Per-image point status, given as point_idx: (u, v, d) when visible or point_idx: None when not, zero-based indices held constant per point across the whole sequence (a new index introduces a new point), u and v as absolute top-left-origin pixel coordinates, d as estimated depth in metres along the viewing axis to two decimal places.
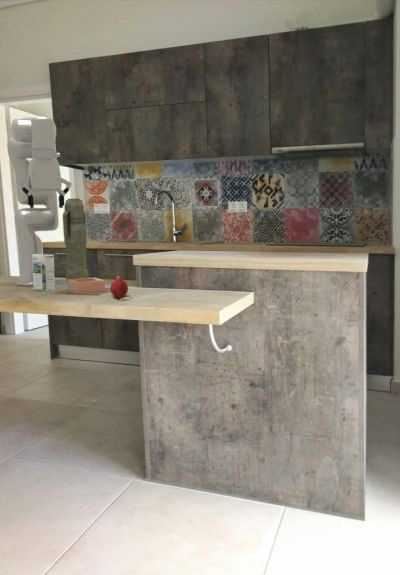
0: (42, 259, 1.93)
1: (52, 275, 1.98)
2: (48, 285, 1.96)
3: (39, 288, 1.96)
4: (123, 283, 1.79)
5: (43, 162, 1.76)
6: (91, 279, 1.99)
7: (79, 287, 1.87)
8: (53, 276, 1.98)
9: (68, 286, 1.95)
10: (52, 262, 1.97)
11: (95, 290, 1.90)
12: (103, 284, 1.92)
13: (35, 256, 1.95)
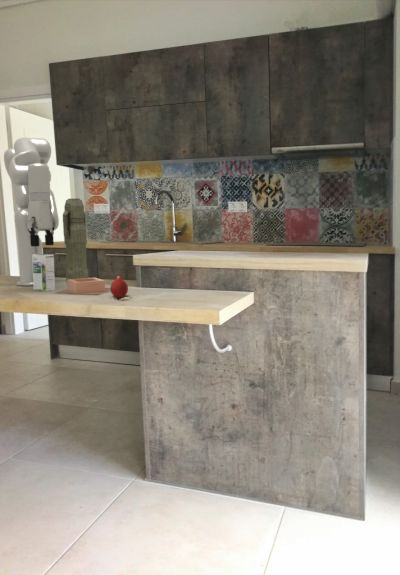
0: (42, 259, 1.93)
1: (52, 275, 1.98)
2: (48, 285, 1.96)
3: (39, 288, 1.96)
4: (123, 283, 1.79)
5: (45, 205, 1.93)
6: (91, 279, 1.99)
7: (79, 287, 1.87)
8: (53, 276, 1.98)
9: (68, 286, 1.95)
10: (52, 262, 1.97)
11: (95, 290, 1.90)
12: (103, 284, 1.92)
13: (35, 256, 1.95)
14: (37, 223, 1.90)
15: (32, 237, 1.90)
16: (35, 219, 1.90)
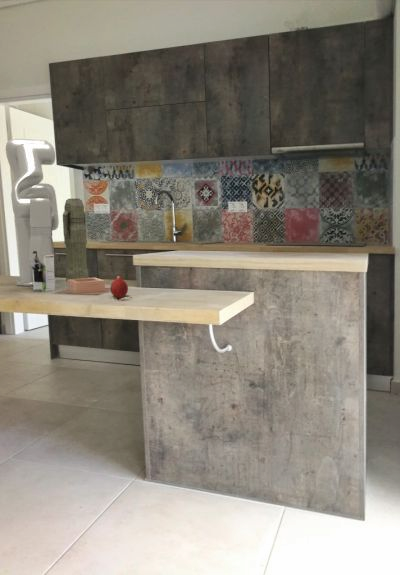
0: None
1: (52, 275, 1.98)
2: (48, 285, 1.96)
3: (39, 288, 1.96)
4: (123, 283, 1.79)
5: (46, 239, 1.95)
6: (91, 279, 1.99)
7: (79, 287, 1.87)
8: (53, 276, 1.98)
9: (68, 286, 1.95)
10: (52, 262, 1.97)
11: (95, 290, 1.90)
12: (103, 284, 1.92)
13: None
14: (39, 258, 1.92)
15: (36, 273, 1.93)
16: (37, 254, 1.91)
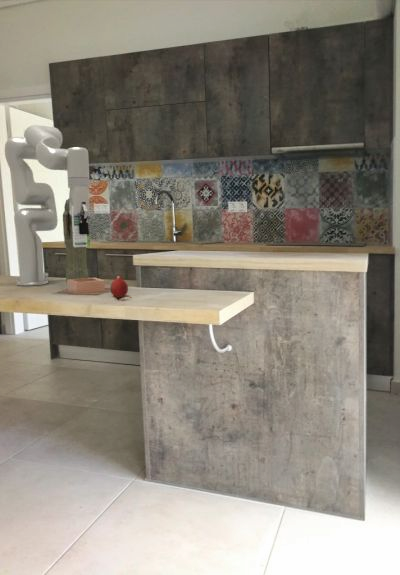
0: None
1: None
2: None
3: (83, 241, 1.89)
4: (123, 283, 1.79)
5: None
6: (91, 279, 1.99)
7: (79, 287, 1.87)
8: None
9: (68, 286, 1.95)
10: None
11: (95, 290, 1.90)
12: (103, 284, 1.92)
13: None
14: (88, 208, 1.87)
15: (83, 225, 1.87)
16: (86, 204, 1.86)
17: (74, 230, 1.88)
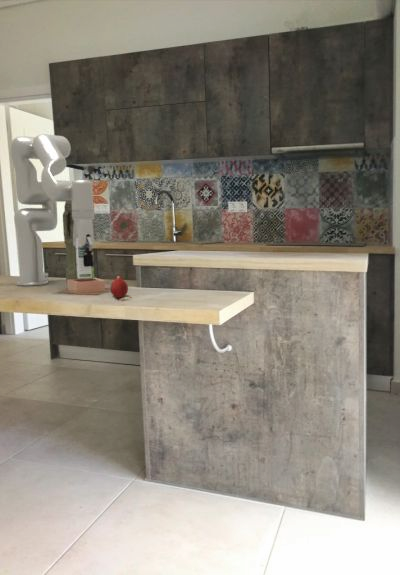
0: None
1: None
2: None
3: (87, 273, 1.91)
4: (123, 283, 1.79)
5: None
6: (91, 279, 1.99)
7: (79, 287, 1.87)
8: None
9: (68, 286, 1.95)
10: None
11: (95, 290, 1.90)
12: (103, 284, 1.92)
13: None
14: (92, 241, 1.88)
15: (88, 257, 1.88)
16: (90, 237, 1.88)
17: (79, 262, 1.89)
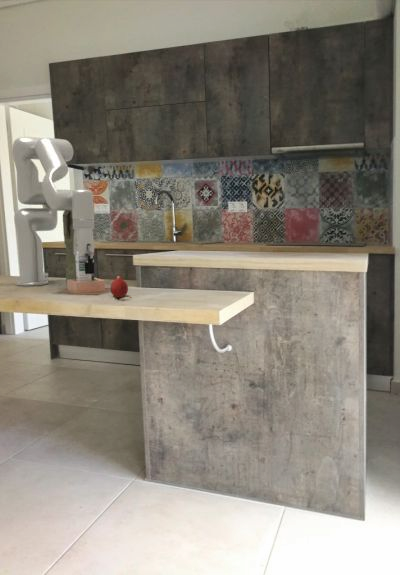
0: None
1: None
2: None
3: None
4: (123, 283, 1.79)
5: None
6: None
7: (79, 287, 1.87)
8: None
9: (68, 286, 1.95)
10: None
11: (95, 290, 1.90)
12: (103, 284, 1.92)
13: None
14: None
15: (89, 265, 1.88)
16: (91, 246, 1.88)
17: (79, 275, 1.90)
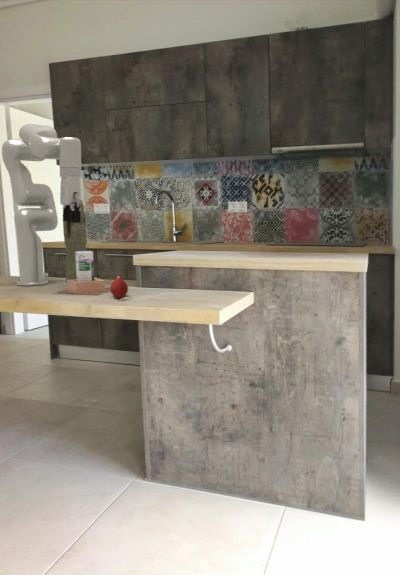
0: (92, 256, 1.91)
1: None
2: None
3: None
4: (123, 283, 1.79)
5: None
6: None
7: (79, 287, 1.87)
8: None
9: (68, 286, 1.95)
10: None
11: (95, 290, 1.90)
12: (103, 284, 1.92)
13: (82, 253, 1.90)
14: (79, 199, 1.88)
15: (75, 213, 1.88)
16: None
17: (79, 275, 1.90)
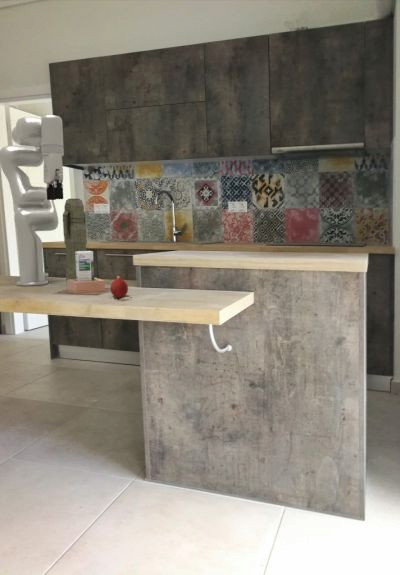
0: (92, 256, 1.91)
1: None
2: None
3: None
4: (123, 283, 1.79)
5: None
6: None
7: (79, 287, 1.87)
8: None
9: (68, 286, 1.95)
10: None
11: (95, 290, 1.90)
12: (103, 284, 1.92)
13: (82, 253, 1.90)
14: (61, 176, 1.90)
15: (58, 189, 1.89)
16: (60, 171, 1.89)
17: (79, 275, 1.90)
